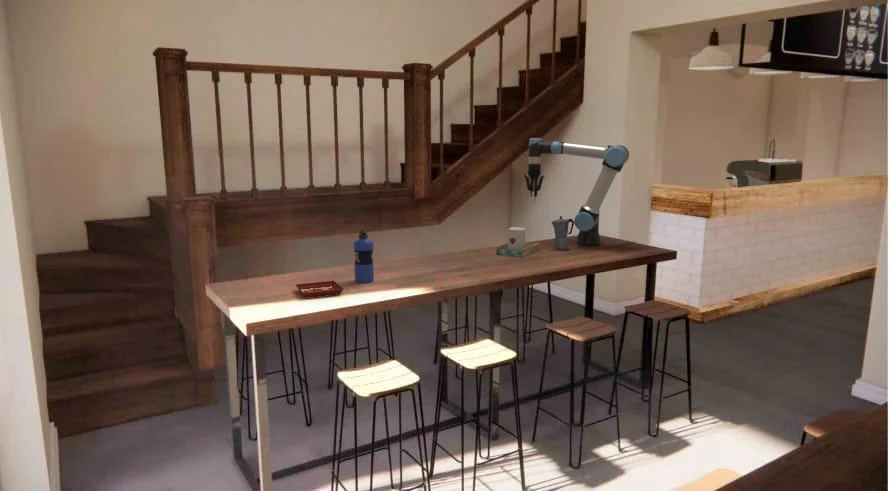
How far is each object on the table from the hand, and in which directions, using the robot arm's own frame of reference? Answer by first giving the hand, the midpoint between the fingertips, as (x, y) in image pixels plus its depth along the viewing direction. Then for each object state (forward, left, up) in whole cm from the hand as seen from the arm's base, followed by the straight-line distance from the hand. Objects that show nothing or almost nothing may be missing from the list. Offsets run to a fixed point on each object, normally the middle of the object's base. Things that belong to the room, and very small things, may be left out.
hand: (533, 201), depth 394 cm
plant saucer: (+34, +158, -27) cm, 164 cm away
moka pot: (-22, +7, -27) cm, 35 cm away
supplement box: (-5, +34, -27) cm, 43 cm away
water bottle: (+30, +131, -27) cm, 137 cm away
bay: (-4, +30, -26) cm, 40 cm away
